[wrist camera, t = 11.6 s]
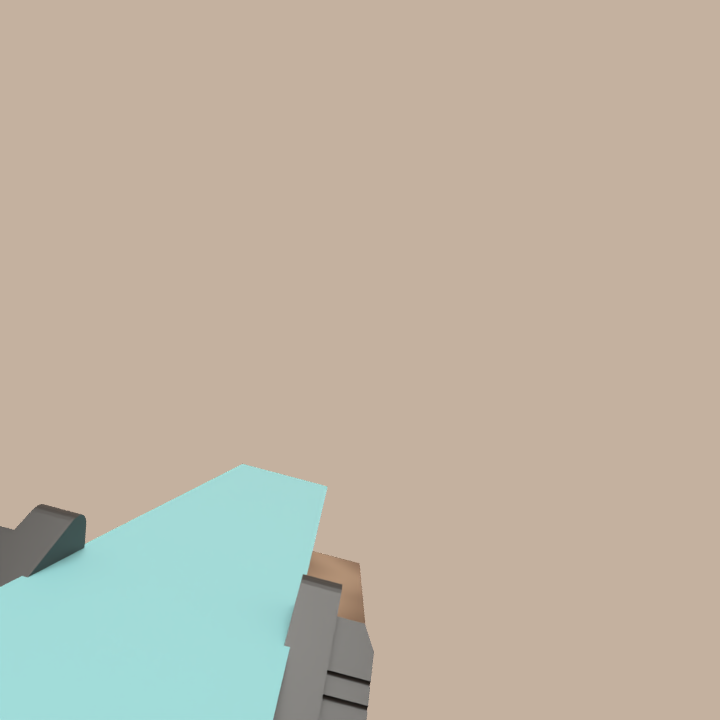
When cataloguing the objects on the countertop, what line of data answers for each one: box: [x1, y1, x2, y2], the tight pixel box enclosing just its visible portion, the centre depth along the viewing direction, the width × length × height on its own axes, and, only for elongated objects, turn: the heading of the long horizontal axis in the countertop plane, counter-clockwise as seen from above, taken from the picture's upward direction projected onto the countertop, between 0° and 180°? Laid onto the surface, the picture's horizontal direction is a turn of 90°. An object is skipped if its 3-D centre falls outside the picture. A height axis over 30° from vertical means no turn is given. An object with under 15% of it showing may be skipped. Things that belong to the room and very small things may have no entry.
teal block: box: [0, 464, 327, 720], centre depth 17 cm, size 4×24×3 cm, turn 0°
